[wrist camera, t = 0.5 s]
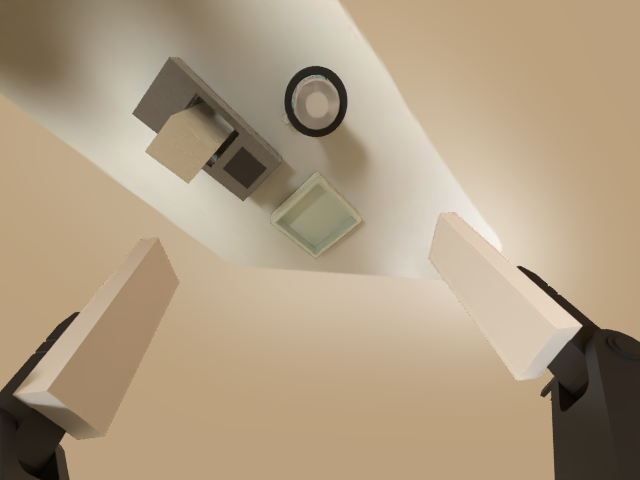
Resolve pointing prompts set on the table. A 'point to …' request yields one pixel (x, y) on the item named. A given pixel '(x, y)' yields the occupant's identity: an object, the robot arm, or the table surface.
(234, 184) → the dark gray slotted holder
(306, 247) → the parts tray
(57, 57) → the table surface
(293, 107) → the push button
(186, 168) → the block
